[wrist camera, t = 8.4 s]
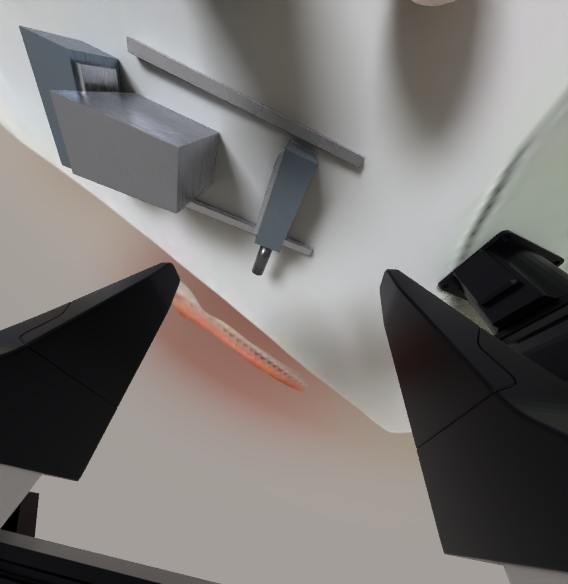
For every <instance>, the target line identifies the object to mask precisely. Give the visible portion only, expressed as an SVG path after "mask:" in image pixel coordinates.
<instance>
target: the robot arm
mask: <svg viewBox="0 0 568 584" xmlns="http://www.w3.org/2000/svg"><path fill="white" fill-rule="evenodd" d="M505 236H506V237H505ZM504 237H505V238H504ZM563 262H564V259H563V258H561V257H560V256H558V255H556V254H554V253H552V252H550V251H548V250H546V249H544V248H543V247H541V246H539V245H537V244H535V243H533V242H531V241H529V240H527V239H525V238H523V237H521V236H519V235H517V234H515V233H513V232H511V231H509V230H505V231H502V232H500V233H499V234H497V235H496V236H495V237H494V238H493V239H491V240H490V241H489V242H488V243H487V244H485V245H484V246H483V247H482V248H481V249H479V250H478V251H477V252H476V253H474V254H473V255H472V256H471V257H470V258H468V259H467V260H466V261H465V262H464V263H462V264H461V265H460V266H459V267H457V268H456V269H455V270H454V271H453V272H451V273H450V274H449V275H448V276H447V277H445V278H444V279H443V280H442V281H441V282H440V283H439V284H438V285H439V287H440V289H442V290H444V291H446V292H449V293H451V294H453V295H456V296H458V297H461V298H463V299H465V300H468V301H469V302H470V304H471V305H472V306H473V308H474V309H475V310H476V311H477V313H478V314H479V315H480V317H481V318H482V319H483V321H484V322H485V323H486V325H487V326H488V327H489V328H490V330H491V331H492V332H493V334H494V335H491V334H490V333H488V332H487V331H486V330H484V329H483V328H479V326H478V325H477V324H475V323H474V322H473V321H471V320H470V319H468V318H467V317H465V316H464V315H462V314H461V313H460V312H458V311H457V310H455V309H454V308H452V307H451V306H449V305H448V304H447V303H445V302H444V301H442V300H441V299H439V298H438V297H437V296H435V295H434V294H432V293H431V292H429V291H428V290H426V289H425V288H424V287H422V286H421V285H419V284H418V283H416V282H415V281H413V280H412V279H411V278H409V277H408V276H406V275H405V274H403V273H402V272H401V271H399V270H396V269H387V270H386V271H385V273H384V276H383V279H382V282H381V285H380V297H381V305H382V313H383V321H384V326H385V330H386V334H387V338H388V342H389V346H390V349H391V353H392V357H393V361H394V365H395V369H396V372H397V376H398V380H399V384H400V388H401V391H402V395H403V399H404V403H405V407H406V410H407V414H408V418H409V422H410V426H411V430H412V433H413V437H414V441H415V445H416V448H417V453H418V456H419V461H420V465H421V468H422V472H423V476H424V480H425V484H426V487H427V491H428V495H429V499H430V502H431V506H432V510H433V514H434V518H435V522H436V526H437V529H438V533H439V537H440V541H441V544H442V548H443V551H444V553H445V554H447V555H452V556H457V557H463V558H468V559H473V560H478V561H483V562H488V563H493V564H498V565H503V566H504V568H505V571H506V573H507V576H508V578H509V581H510V583H511V584H568V274H567V273H566V272H564V271H563V270H561V269H560V268H558V266H560V265H561V264H563ZM179 283H180V278H179V275H178V273H177V271H176V269H175V267H174V265H173V264H172V263H164V262H163V263H160V264H158V265H155V266H153V267H150V268H148V269H146V270H143V271H141V272H139V273H136V274H134V275H132V276H129V277H127V278H125V279H123V280H120V281H118V282H116V283H113V284H111V285H109V286H106V287H104V288H102V289H100V290H97V291H95V292H92V293H90V294H88V295H86V296H83V297H81V298H79V299H76V300H74V301H72V302H69V303H67V304H65V305H62V306H60V307H58V308H55V309H53V310H51V311H48V312H46V313H43V314H41V315H38V316H36V317H33V318H31V319H29V320H26V321H24V322H21V323H18V324H16V325H13V326H11V327H8V328H6V329H3V330H1V331H0V584H219V583H215V582H210V581H206V580H203V579H199V578H195V577H191V576H186V575H183V574H178V573H174V572H170V571H166V570H162V569H158V568H154V567H150V566H146V565H142V564H138V563H134V562H130V561H126V560H122V559H118V558H114V557H110V556H106V555H102V554H98V553H93V552H90V551H86V550H82V549H78V548H74V547H70V546H66V545H62V544H58V543H53V542H50V541H46V540H42V539H38V538H34V537H35V528H36V518H37V508H38V499H39V493H35V492H30V489H31V488H32V487H33V486H34V484H35V483H36V482H37V480H38V479H39V478H40V476H41V475H42V474H43V475H48V476H53V477H58V478H63V479H68V480H73V481H78V480H79V479H80V477H81V476H82V474H83V472H84V470H85V469H86V467H87V465H88V463H89V461H90V459H91V457H92V455H93V453H94V451H95V450H96V448H97V446H98V444H99V442H100V440H101V438H102V436H103V434H104V433H105V430H106V429H107V427H108V425H109V423H110V421H111V419H112V417H113V415H114V414H115V411H116V410H117V407H118V406H119V404H120V402H121V400H122V398H123V396H124V394H125V392H126V390H127V388H128V386H129V384H130V383H131V381H132V379H133V377H134V375H135V373H136V371H137V369H138V368H139V366H140V364H141V362H142V360H143V358H144V356H145V354H146V352H147V351H148V349H149V347H150V345H151V343H152V341H153V339H154V337H155V335H156V333H157V332H158V330H159V328H160V326H161V324H162V322H163V320H164V318H165V316H166V314H167V313H168V310H169V308H170V306H171V303H172V301H173V298H174V296H175V293H176V291H177V288H178V286H179ZM445 284H446V285H445Z"/></svg>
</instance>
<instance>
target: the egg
mask: <svg viewBox="0 0 568 584" xmlns="http://www.w3.org/2000/svg"><path fill="white" fill-rule="evenodd" d="M412 1H413V2H414V3H417V4H420V5H426V6H440V5H443V4H446V3H450V2H453V1H455V0H412Z"/></svg>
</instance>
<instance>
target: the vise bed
mask: <svg viewBox="0 0 568 584" xmlns="http://www.w3.org/2000/svg"><path fill="white" fill-rule="evenodd" d="M19 28H20V31H21V34H22V37H23V41H24V44H25V47H26V50H27V54H28V57H29V60H30V63H31V66H32V70H33V73H34V76H35V79H36V83H37V86H38V89H39V92H40V95H41V99H42V102H43V105H44V108H45V112H46V115H47V118H48V121H49V124H50V128H51V131H52V134H53V137H54V141H55V144H56V147H57V150H58V153H59V157H60V160H61V163H62V165H63V166H66V167H68V168H71V164H70V161H69V157H68V154H67V150H66V147H65V143H64V140H63V136H62V133H61V129H60V126H59V122H58V119H57V115H56V112H55V108H54V105H53V101H52V98H51V94H50V91H49V90H60V91H92V92H121V83H120V74H119V65H118V59H117V58H115V57H113V56H111V55H109V54H107V53H105V52H103V51H101V50H99V49H97V48H94V47H92V46H90V45H88V44H86V43H84V42H82V41H79V40H75V39H71V38H67V37H63V36H59V35H55V34H51V33H47V32H43V31H39V30H35V29H31V28H27V27H23V26H19ZM126 37H127V36H126ZM127 48H128V52H129V53H131V54H133V55H135V56H137V57H139V58H141V59H143V60H145V61H147V62H149V63H151V64H153V65H155V66H157V67H159V68H161V69H163V70H165V71H167V72H169V73H171V74H173V75H175V76H177V77H179V78H181V79H183V80H185V81H187V82H189V83H191V84H193V85H195V86H197V87H199V88H201V89H203V90H205V91H207V92H209V93H211V94H213V95H215V96H217V97H219V98H221V99H223V100H225V101H227V102H229V103H231V104H233V105H235V106H237V107H239V108H241V109H243V110H245V111H247V112H249V113H251V114H253V115H255V116H257V117H259V118H261V119H263V120H265V121H267V122H269V123H271V124H273V125H275V126H277V127H279V128H281V129H283V130H285V131H287V132H289V133H291V134H293V135H295V136H297V137H299V138H301V139H303V140H305V141H307V142H309V143H311V144H313V145H315V146H317V147H319V148H321V149H323V150H325V151H327V152H329V153H331V154H333V155H335V156H337V157H339V158H341V159H343V160H345V161H347V162H349V163H351V164H353V165H355V166H357V167H359V168H360V166H361V164H362V162H363V161H364V159H365V158H364V157H363V156H362V155H360V154H358V153H356V152H354V151H352V150H350V149H348V148H346V147H344V146H342V145H340V144H338V143H336V142H334V141H332V140H330V139H328V138H326V137H325V136H323V135H321V134H319V133H317V132H315V131H313V130H311V129H309V128H307V127H305V126H303V125H301V124H299V123H297V122H295V121H293V120H291V119H289V118H287V117H285V116H283V115H282V114H280V113H278V112H276V111H274V110H272V109H270V108H268V107H266V106H264V105H262V104H260V103H258V102H256V101H254V100H252V99H250V98H248V97H246V96H244V95H242V94H241V93H239V92H237V91H235V90H233V89H231V88H229V87H227V86H225V85H223V84H221V83H219V82H217V81H215V80H213V79H211V78H209V77H207V76H205V75H203V74H201V73H199V72H198V71H196V70H194V69H192V68H190V67H188V66H186V65H184V64H182V63H180V62H178V61H176V60H174V59H172V58H170V57H168V56H166V55H164V54H162V53H160V52H158V51H156V50H155V49H153V48H151V47H149V46H147V45H145V44H143V43H141V42H139V41H137V40H135V39H133V38H130V37H127ZM71 169H72V168H71ZM185 207H187V208H190V209H192V210H195V211H197V212H200V213H202V214H205V215H207V216H210V217H212V218H215V219H217V220H220V221H222V222H225V223H227V224H230V225H232V226H235V227H238V228H240V229H243V230H245V231H248V232H250V233H253V234H254V230H255V227H256V224H253V223H251V222H248V221H246V220H243V219H241V218H238V217H236V216H234V215H231V214H229V213H226V212H224V211H221V210H219V209H216V208H214V207H211V206H209V205H206V204H204V203H202V202H199V201H197V200H194V199H193V200H192V201H191V202H190V203H189V204H187V205H186V206H185ZM255 235H256V234H255ZM283 246H285V247H288V248H290V249H293V250H295V251H298V252H300V253H303V254H305V255H308V256H310V254H311V253H312V247H310V246H307V245H305V244H302V243H300V242H298V241H295V240H293V239H290V238H288V237H286V238H285V241H284V243H283Z"/></svg>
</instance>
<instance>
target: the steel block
mask: <svg viewBox="0 0 568 584" xmlns="http://www.w3.org/2000/svg"><path fill="white" fill-rule="evenodd" d="M49 91H50V94H51V98H52V101H53V105H54V108H55V112H56V115H57V119H58V122H59V126H60V129H61V133H62V136H63V140H64V143H65V147H66V150H67V154H68V157H69V161H70V164H71V168H72V171H73V174H76V175H78V176H81V177H83V178H86V179H88V180H91V181H94V182H96V183H99V184H101V185H104V186H106V187H109V188H112V189H114V190H117V191H119V192H122V193H124V194H127V195H130V196H132V197H135V198H137V199H140V200H142V201H145V202H148V203H150V204H153V205H155V206H158V207H160V208H163V209H166V210H168V211H171V212H173V213H176V214H177V213H178V212H179V211H180V210H181V209H183V208H184V207H185V206H186V205H187V204H189V203H190V202H191V201H192V200H193V199H195V198H196V197H197V196H198V195H199V194H200V193H202V192H203V191H204V190H205V189H206V188H208V187H209V186H210V185H211V184H212V182H213V174H214V167H215V160H216V152H217V145H218V138H219V132H217V131H215V130H213V129H211V128H209V127H206V126H204V125H202V124H200V123H198V122H196V121H194V120H192V119H189V118H187V117H185V116H183V115H181V114H179V113H177V112H175V111H172V110H170V109H168V108H166V107H164V106H162V105H160V104H158V103H155V102H153V101H151V100H149V99H147V98H145V97H143V96H141V95H138V94H136V93H124V92H92V91H60V90H49Z"/></svg>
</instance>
